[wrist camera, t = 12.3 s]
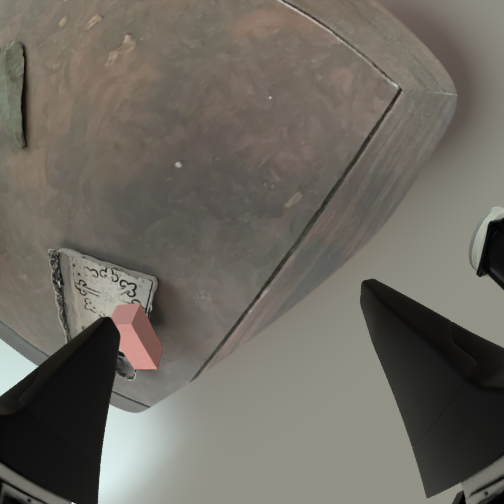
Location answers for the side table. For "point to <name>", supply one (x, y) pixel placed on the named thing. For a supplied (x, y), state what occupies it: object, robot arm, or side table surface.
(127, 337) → the eraser
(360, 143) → the side table surface
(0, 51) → the stone
